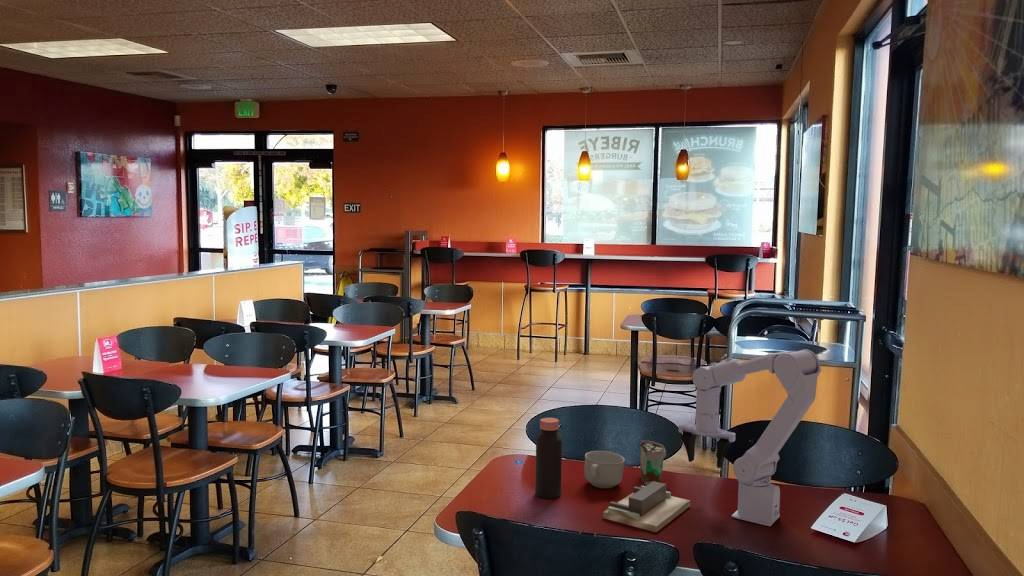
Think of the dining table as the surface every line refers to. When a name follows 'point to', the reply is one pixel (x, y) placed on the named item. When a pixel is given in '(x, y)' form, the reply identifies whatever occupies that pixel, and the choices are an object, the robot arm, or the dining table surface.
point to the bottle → (548, 460)
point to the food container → (651, 461)
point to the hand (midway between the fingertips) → (705, 463)
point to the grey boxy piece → (644, 498)
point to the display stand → (649, 513)
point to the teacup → (603, 468)
